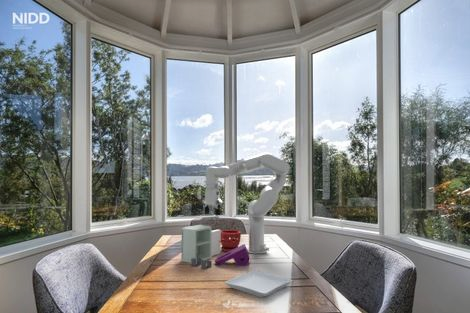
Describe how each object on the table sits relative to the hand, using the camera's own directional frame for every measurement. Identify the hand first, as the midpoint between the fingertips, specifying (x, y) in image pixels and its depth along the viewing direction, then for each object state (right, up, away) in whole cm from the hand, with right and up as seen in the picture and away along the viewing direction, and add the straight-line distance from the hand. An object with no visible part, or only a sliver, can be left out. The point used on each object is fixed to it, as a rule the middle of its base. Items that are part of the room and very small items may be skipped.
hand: (212, 214), depth 193 cm
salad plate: (+24, -21, -60) cm, 67 cm away
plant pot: (+11, -24, +5) cm, 27 cm away
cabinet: (-8, -22, -16) cm, 29 cm away
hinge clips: (-4, -22, -29) cm, 37 cm away
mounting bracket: (+12, -22, -24) cm, 35 cm away
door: (+1, -23, -5) cm, 24 cm away
